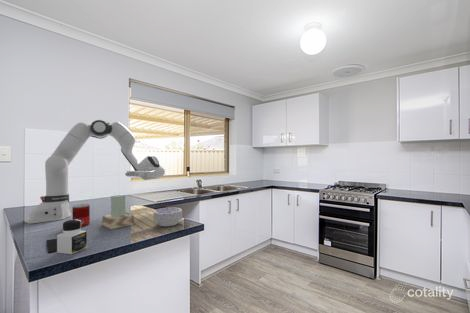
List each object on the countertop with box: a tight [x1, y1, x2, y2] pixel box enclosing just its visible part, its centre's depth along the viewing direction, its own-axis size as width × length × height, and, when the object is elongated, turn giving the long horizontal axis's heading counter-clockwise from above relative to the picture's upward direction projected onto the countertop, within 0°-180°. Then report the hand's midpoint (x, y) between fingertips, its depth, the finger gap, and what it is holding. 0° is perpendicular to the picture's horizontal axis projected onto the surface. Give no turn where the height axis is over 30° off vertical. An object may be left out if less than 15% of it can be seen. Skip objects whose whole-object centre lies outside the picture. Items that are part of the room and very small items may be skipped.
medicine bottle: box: [56, 219, 88, 255], centre depth 95 cm, size 7×7×12 cm
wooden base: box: [102, 211, 135, 230], centre depth 131 cm, size 12×12×5 cm
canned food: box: [71, 203, 91, 228], centre depth 131 cm, size 8×8×11 cm
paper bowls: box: [153, 206, 183, 227], centre depth 132 cm, size 15×15×8 cm
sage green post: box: [110, 194, 126, 217], centre depth 131 cm, size 5×5×11 cm
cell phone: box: [46, 237, 57, 254], centre depth 102 cm, size 9×18×1 cm, turn 40°
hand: (131, 174), depth 152 cm, fingers open, 8 cm apart
